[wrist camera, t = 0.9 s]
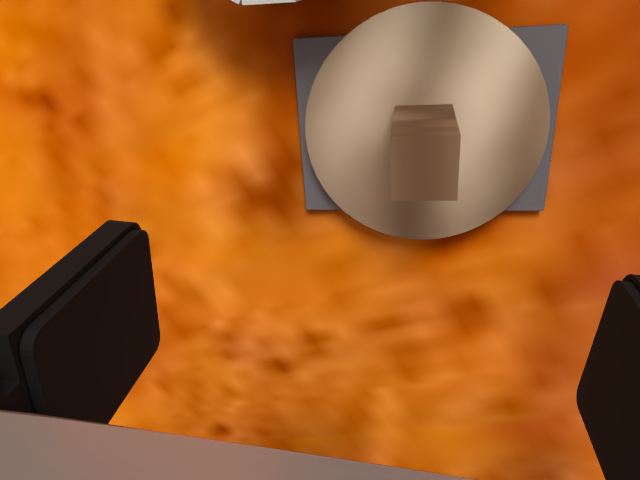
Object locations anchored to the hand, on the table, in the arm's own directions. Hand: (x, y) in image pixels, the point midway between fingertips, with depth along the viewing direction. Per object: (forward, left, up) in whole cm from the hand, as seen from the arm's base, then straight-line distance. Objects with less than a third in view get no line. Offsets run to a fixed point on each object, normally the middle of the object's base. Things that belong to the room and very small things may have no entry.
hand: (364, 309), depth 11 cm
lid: (-1, +2, -21) cm, 21 cm away
